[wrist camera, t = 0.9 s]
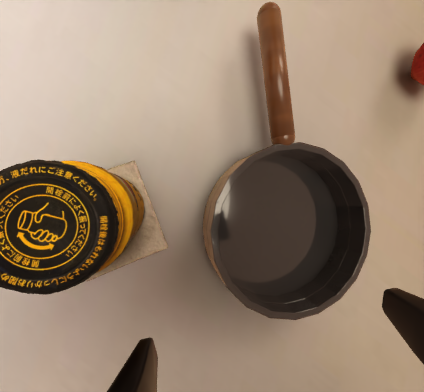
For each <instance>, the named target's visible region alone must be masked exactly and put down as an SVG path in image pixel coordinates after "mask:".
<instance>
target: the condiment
mask: <svg viewBox="0 0 424 392" xmlns="http://www.w3.org/2000/svg"><path fill="white" fill-rule="evenodd" d="M166 248H168V246H167V243H166V240H165V238H164V235H163V233H162V230H161V228H160V225H159V223H158V220H157V217H156V215H155V212H154V209H153V207H152V204H151V202H150V199H149V196H148V194H147V191H146V189H145V186H144V184H143V181H142V178H141V176H140V173H139V171H138V168H137V166H136V163H135V161H132V162H129V163H126V164H122V165H120V166H116V167H114V168H111V169H108V170H105V169H103V168H102V167H98V166H95V165H92V164H89V163H85V162H78V161H61V162H59V161H45V160H31V161H28V162H25V163H22V164H16V165H14V166H11V167H8V168H6V169H3V170H2V171H0V287H2V288H5V289H10V290H14V291H18V292H22V293H27V294H30V293H31V294H52V293H54V292H60V291H63V290H66V289H69V288H71V287H73V286H76V285H78V284H80V283H82V282H84V281H90V280H92V279H94V278H96V277H99V276H101V275H103V274H106V273H108V272H110V271H113V270H115V269H118V268H120V267H122V266H125V265H127V264H129V263H132V262H134V261H136V260H139V259H142V258H144V257H146V256H149V255H151V254H153V253H156V252H159V251H161V250H163V249H166Z"/></svg>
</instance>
